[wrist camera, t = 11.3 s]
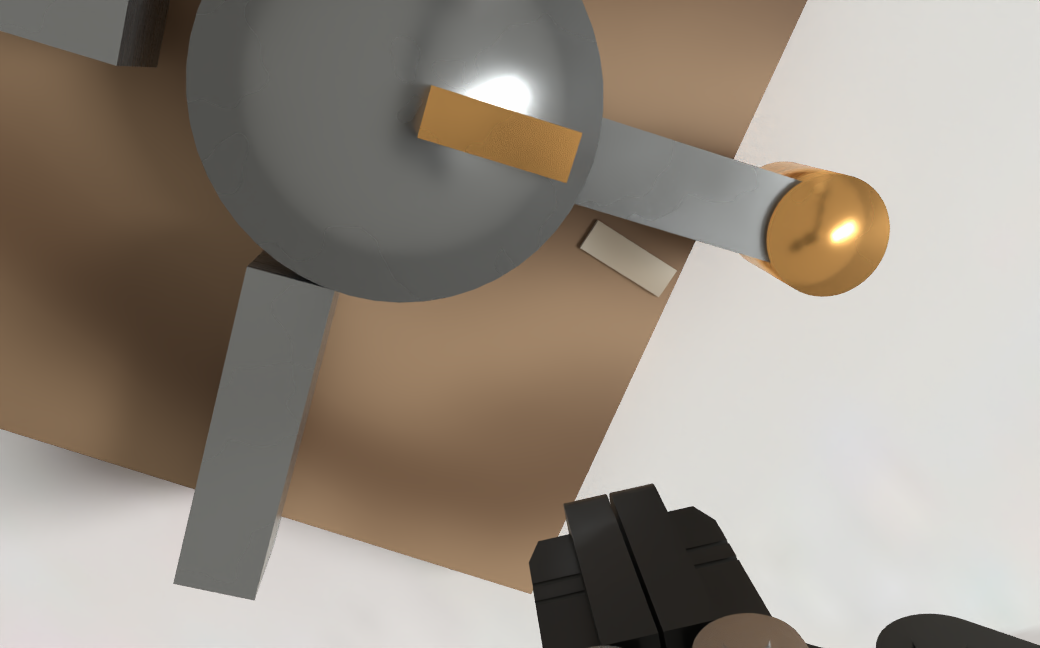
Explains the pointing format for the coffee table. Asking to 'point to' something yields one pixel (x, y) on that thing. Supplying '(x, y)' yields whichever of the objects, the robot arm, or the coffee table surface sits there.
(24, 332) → the stand board
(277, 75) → the spoked handwheel
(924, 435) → the coffee table surface
